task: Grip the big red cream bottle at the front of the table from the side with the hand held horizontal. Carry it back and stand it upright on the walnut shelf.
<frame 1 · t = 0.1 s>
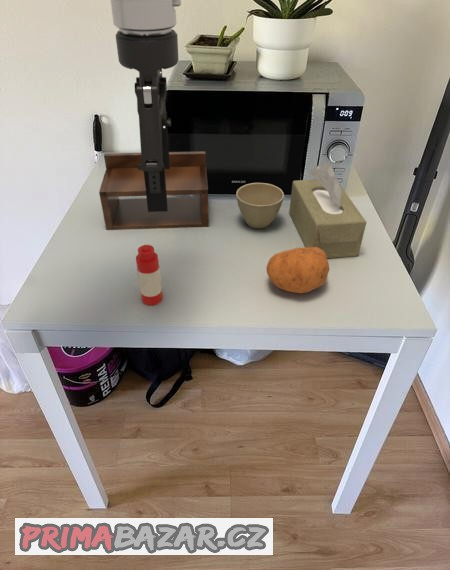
hand: (159, 187, 67), 20 cm above the table, tool pointing down, fingers open, 13 cm apart
red cream bottle: (152, 298, 78), on the table
shelf: (158, 213, 100), on the table
beige bowl: (258, 223, 98), on the table
tissue box: (321, 233, 95), on the table
potato: (295, 286, 81), on the table
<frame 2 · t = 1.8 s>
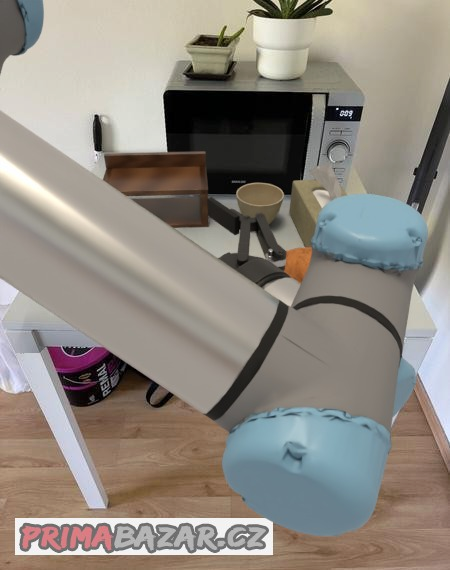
hand: (167, 221, 59), 20 cm above the table, tool horizontal, fingers open, 13 cm apart
nothing on the table moved.
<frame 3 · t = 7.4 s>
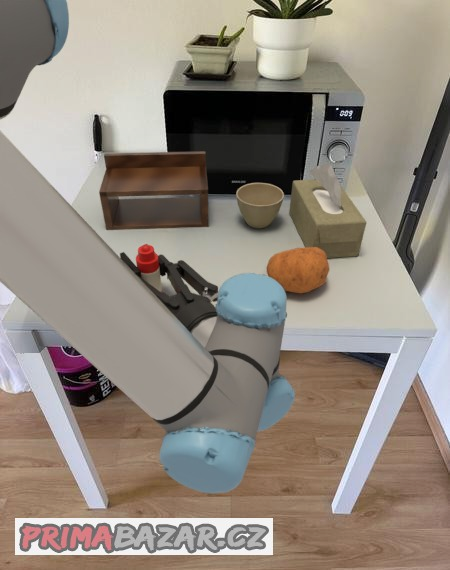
hand: (134, 255, 77), 6 cm above the table, tool horizontal, fingers closed on red cream bottle, 4 cm apart
red cream bottle: (152, 298, 78), on the table, touching gripper
everything else where it was.
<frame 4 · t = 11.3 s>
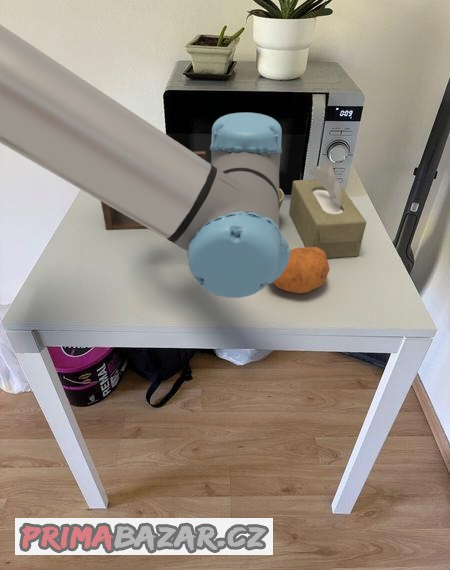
hand: (131, 153, 77), 20 cm above the table, tool horizontal, fingers closed on red cream bottle, 4 cm apart
red cream bottle: (149, 198, 77), point 14 cm above the table, touching gripper
everything else where it was.
when the fingers open (15 cm above the table, at t = 15.5 s): red cream bottle stays where it is, resting on shelf.
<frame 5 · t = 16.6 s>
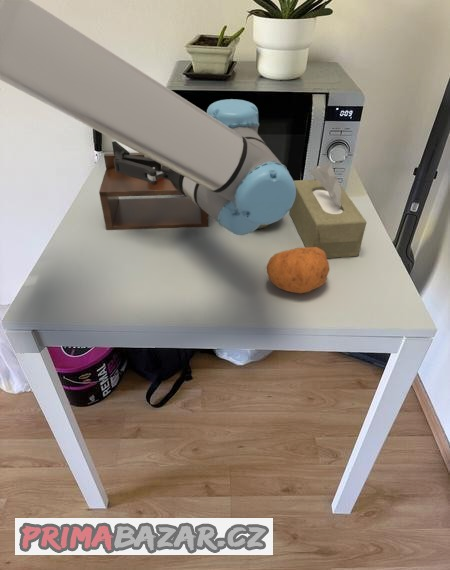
hand: (145, 140, 92), 16 cm above the table, tool horizontal, fingers open, 13 cm apart
red cream bottle: (155, 177, 94), point 9 cm above the table, touching shelf
everything else where it was.
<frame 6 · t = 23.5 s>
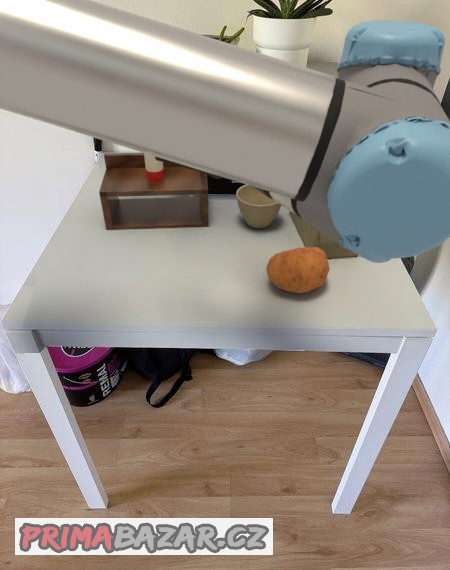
hand: (192, 115, 63), 30 cm above the table, tool horizontal, fingers open, 13 cm apart
nothing on the table moved.
at the end: red cream bottle inside the target area on the shelf (0.0 cm from its centre), point 9.0 cm above the shelf's base; red cream bottle tilted 0°; red cream bottle touching shelf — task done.
